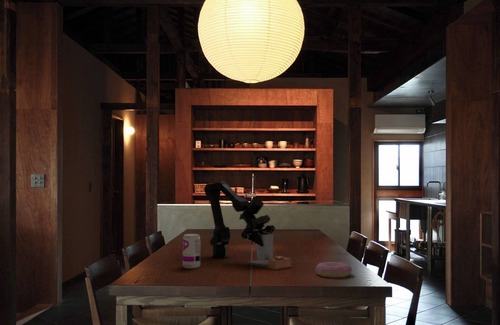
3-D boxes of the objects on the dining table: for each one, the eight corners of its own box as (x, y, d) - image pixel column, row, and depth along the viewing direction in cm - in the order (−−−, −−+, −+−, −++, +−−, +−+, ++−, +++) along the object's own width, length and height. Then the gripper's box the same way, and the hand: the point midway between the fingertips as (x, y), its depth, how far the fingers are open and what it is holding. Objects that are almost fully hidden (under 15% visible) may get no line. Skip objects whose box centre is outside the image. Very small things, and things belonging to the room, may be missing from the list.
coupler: (247, 264, 243) (247, 253, 243) (262, 261, 249) (262, 251, 250) (275, 269, 229) (275, 258, 229) (290, 267, 236) (290, 256, 236)
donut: (327, 280, 207) (327, 268, 207) (308, 273, 221) (309, 262, 221) (359, 277, 213) (359, 265, 213) (339, 271, 227) (339, 259, 227)
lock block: (256, 258, 241) (256, 232, 242) (264, 257, 245) (264, 231, 245) (265, 260, 237) (265, 233, 237) (273, 259, 241) (273, 232, 241)
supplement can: (186, 269, 230) (186, 236, 231) (180, 266, 238) (180, 234, 238) (202, 267, 234) (203, 235, 234) (196, 264, 241) (196, 233, 242)
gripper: (245, 210, 238) (261, 236, 230) (272, 208, 251) (289, 233, 243) (234, 225, 244) (249, 251, 235) (261, 223, 257) (277, 247, 248)
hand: (266, 245), depth 240 cm, fingers closed on lock block, 5 cm apart
